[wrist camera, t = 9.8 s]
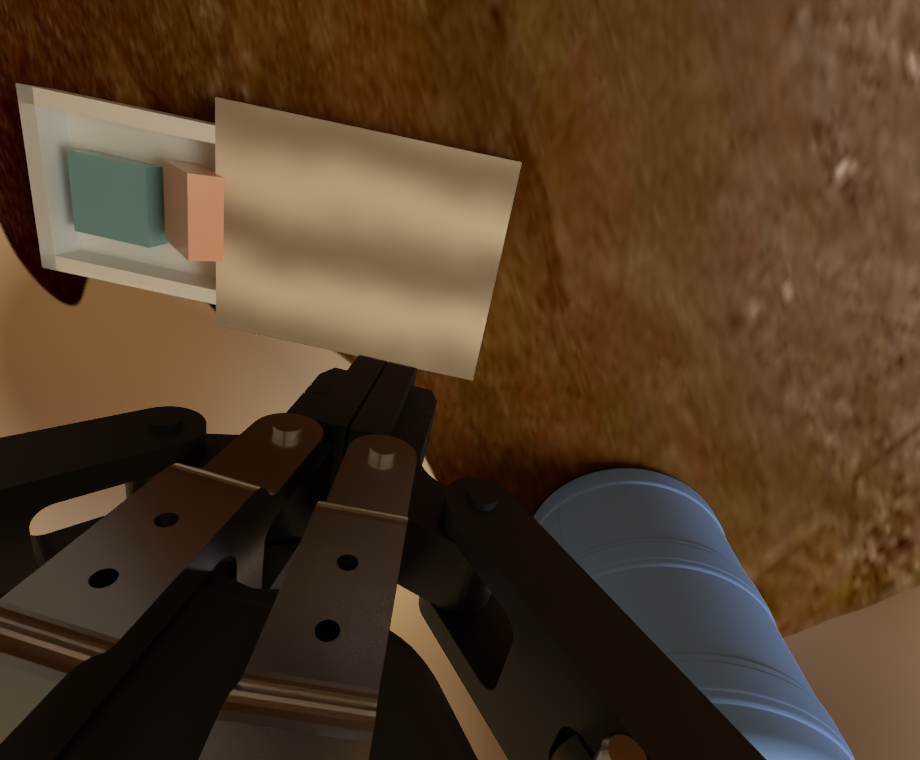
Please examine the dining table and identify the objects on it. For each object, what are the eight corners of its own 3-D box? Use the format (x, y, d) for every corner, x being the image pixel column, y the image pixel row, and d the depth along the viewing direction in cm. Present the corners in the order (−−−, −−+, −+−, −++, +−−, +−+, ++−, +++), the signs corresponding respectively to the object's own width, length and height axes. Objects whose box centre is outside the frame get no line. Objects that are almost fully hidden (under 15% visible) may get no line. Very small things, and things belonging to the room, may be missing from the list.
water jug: (667, 429, 38) (982, 970, 13) (745, 571, 43) (1093, 1178, 17) (490, 511, 43) (462, 1034, 17) (578, 632, 47) (660, 1186, 22)
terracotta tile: (197, 163, 33) (162, 158, 32) (224, 177, 30) (187, 173, 29) (197, 240, 35) (165, 239, 34) (223, 261, 32) (188, 260, 31)
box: (56, 89, 33) (15, 82, 30) (239, 128, 33) (215, 125, 30) (76, 259, 37) (42, 267, 34) (237, 293, 37) (216, 304, 34)
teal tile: (145, 167, 32) (165, 166, 33) (66, 149, 32) (90, 149, 33) (149, 247, 34) (167, 243, 35) (74, 230, 34) (97, 227, 35)
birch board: (240, 102, 32) (215, 96, 29) (520, 162, 32) (521, 162, 29) (237, 313, 38) (216, 325, 35) (475, 364, 38) (472, 380, 35)
